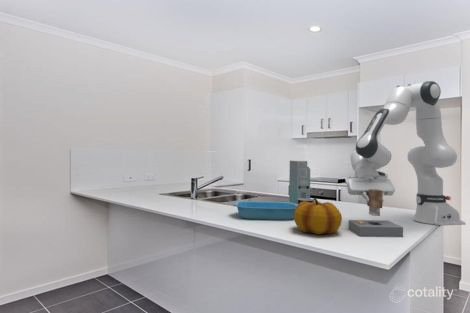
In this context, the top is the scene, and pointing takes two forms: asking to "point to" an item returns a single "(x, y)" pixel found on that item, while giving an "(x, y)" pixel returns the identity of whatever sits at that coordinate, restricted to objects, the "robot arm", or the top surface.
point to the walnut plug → (375, 201)
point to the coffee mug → (305, 200)
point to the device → (299, 181)
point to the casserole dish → (266, 210)
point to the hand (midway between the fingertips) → (375, 201)
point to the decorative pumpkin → (317, 217)
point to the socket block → (375, 228)
